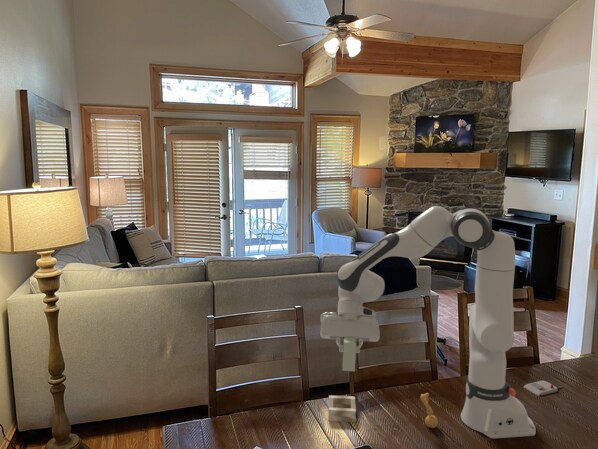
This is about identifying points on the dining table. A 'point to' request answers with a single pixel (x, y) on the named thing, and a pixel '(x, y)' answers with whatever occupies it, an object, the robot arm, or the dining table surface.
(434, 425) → the figurine
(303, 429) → the dining table surface
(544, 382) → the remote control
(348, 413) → the beige square socket frame
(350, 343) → the sage-green peg
